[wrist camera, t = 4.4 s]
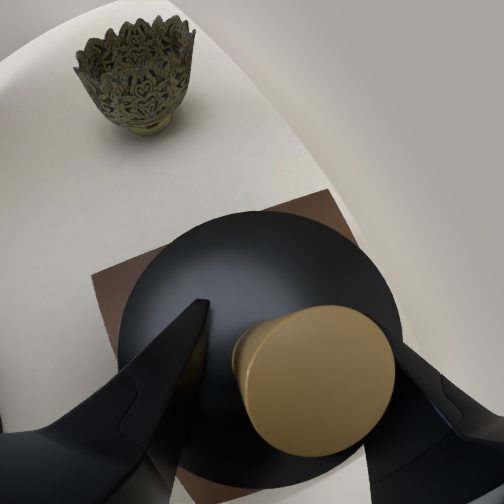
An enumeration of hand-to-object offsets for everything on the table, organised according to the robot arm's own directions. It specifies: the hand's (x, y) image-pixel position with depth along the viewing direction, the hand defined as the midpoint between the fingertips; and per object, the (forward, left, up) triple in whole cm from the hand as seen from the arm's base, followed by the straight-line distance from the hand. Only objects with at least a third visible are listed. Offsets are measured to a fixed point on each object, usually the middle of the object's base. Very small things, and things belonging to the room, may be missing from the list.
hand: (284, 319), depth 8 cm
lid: (-1, +1, -2) cm, 2 cm away
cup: (+16, +2, -7) cm, 18 cm away
